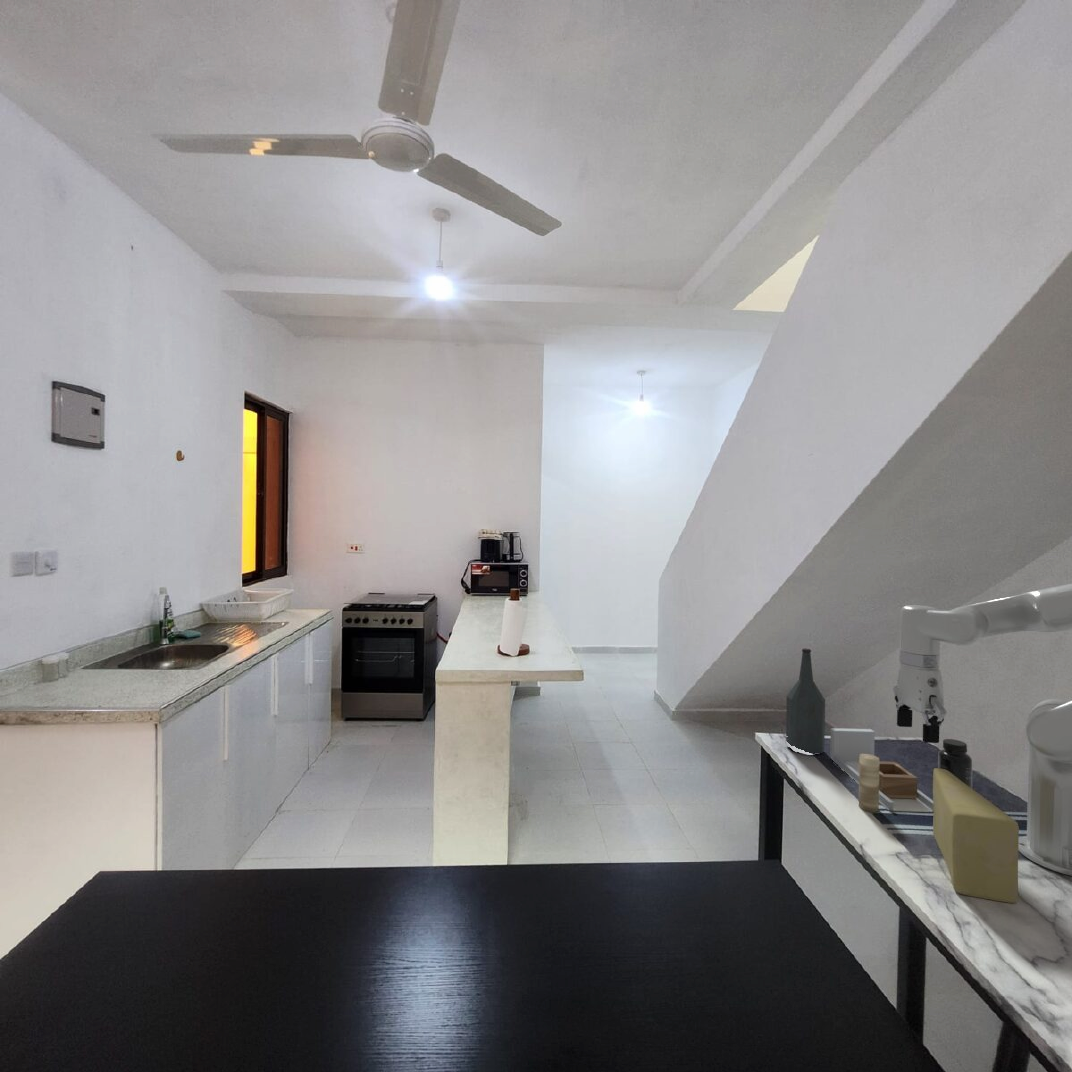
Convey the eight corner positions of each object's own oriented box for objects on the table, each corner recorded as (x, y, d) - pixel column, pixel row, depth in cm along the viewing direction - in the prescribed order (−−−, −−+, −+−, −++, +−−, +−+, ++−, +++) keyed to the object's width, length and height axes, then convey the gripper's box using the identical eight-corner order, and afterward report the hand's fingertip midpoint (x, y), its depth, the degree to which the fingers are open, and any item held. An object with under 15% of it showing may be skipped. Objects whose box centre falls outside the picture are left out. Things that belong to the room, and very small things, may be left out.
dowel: (882, 812, 125) (883, 761, 125) (864, 812, 126) (865, 760, 125) (872, 803, 129) (873, 754, 129) (855, 803, 130) (856, 753, 129)
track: (937, 812, 126) (938, 773, 126) (888, 810, 126) (889, 772, 126) (870, 760, 154) (870, 729, 154) (830, 759, 154) (830, 728, 154)
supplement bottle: (959, 783, 140) (960, 737, 140) (978, 796, 133) (979, 748, 133) (931, 782, 141) (932, 736, 141) (948, 795, 134) (949, 747, 134)
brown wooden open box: (917, 798, 131) (917, 777, 131) (882, 797, 131) (883, 776, 131) (894, 781, 140) (894, 761, 140) (862, 780, 140) (862, 760, 140)
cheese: (910, 829, 119) (911, 761, 118) (963, 837, 116) (964, 767, 115) (953, 894, 97) (955, 811, 97) (1020, 906, 95) (1021, 821, 94)
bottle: (830, 756, 156) (832, 653, 156) (796, 756, 156) (797, 652, 156) (813, 742, 167) (814, 645, 166) (780, 742, 167) (782, 644, 166)
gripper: (963, 670, 116) (961, 750, 116) (912, 651, 133) (910, 721, 133) (926, 669, 116) (924, 748, 117) (880, 650, 134) (878, 720, 134)
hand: (917, 733), depth 125 cm, fingers open, 9 cm apart
